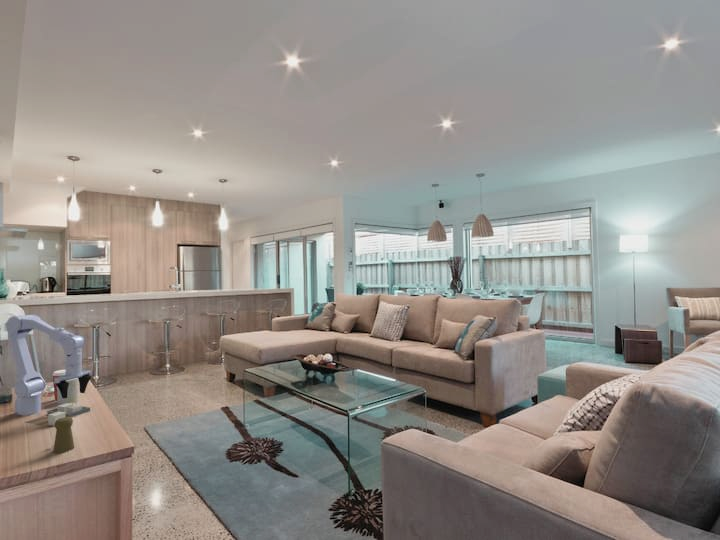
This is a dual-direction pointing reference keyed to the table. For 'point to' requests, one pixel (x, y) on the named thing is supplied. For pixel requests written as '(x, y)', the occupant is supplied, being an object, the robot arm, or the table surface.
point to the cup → (70, 392)
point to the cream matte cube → (63, 407)
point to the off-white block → (55, 417)
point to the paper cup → (55, 375)
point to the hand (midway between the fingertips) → (73, 395)
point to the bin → (84, 410)
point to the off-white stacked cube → (74, 409)
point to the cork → (63, 435)
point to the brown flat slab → (40, 421)
